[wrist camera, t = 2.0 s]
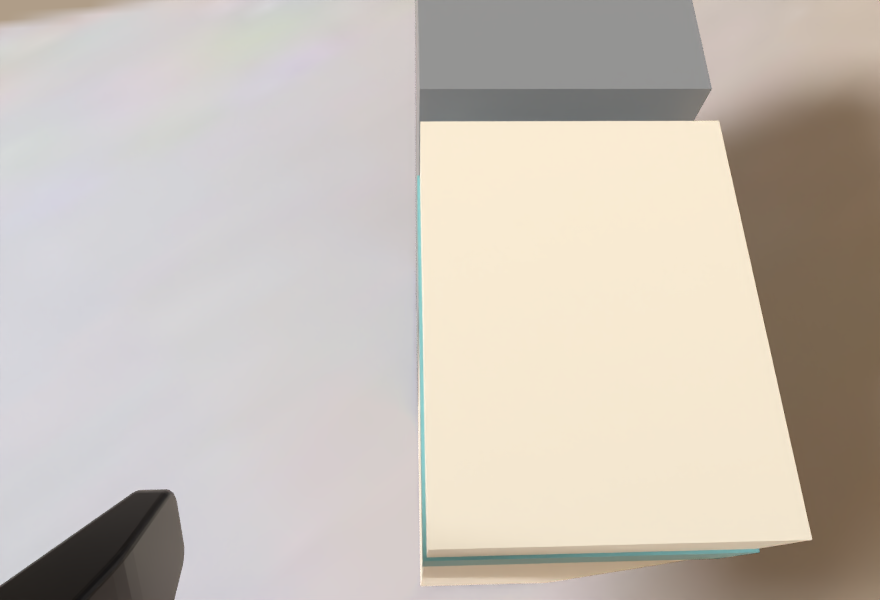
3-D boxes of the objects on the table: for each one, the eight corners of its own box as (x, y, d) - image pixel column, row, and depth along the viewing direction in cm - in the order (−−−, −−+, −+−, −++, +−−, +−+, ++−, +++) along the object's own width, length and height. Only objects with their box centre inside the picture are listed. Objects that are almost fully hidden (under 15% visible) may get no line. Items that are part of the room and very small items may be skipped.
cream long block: (547, 584, 17) (817, 543, 6) (419, 587, 17) (424, 552, 5) (534, 416, 18) (721, 118, 7) (417, 418, 18) (417, 119, 7)
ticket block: (530, 406, 19) (712, 92, 7) (417, 408, 19) (420, 92, 7) (520, 268, 20) (654, -167, 9) (415, 269, 20) (414, -170, 9)
